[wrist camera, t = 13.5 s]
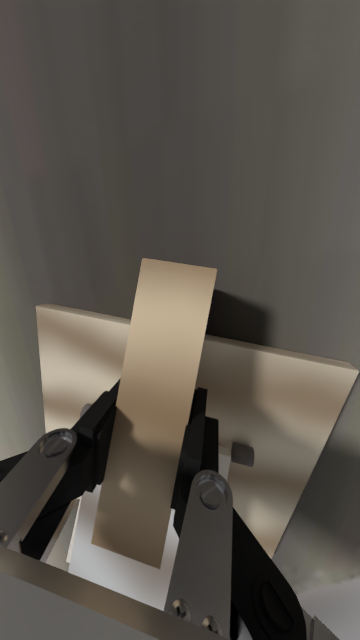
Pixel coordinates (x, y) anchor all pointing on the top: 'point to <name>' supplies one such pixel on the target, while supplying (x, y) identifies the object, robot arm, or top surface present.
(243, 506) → the board
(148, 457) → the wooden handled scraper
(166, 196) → the top surface
